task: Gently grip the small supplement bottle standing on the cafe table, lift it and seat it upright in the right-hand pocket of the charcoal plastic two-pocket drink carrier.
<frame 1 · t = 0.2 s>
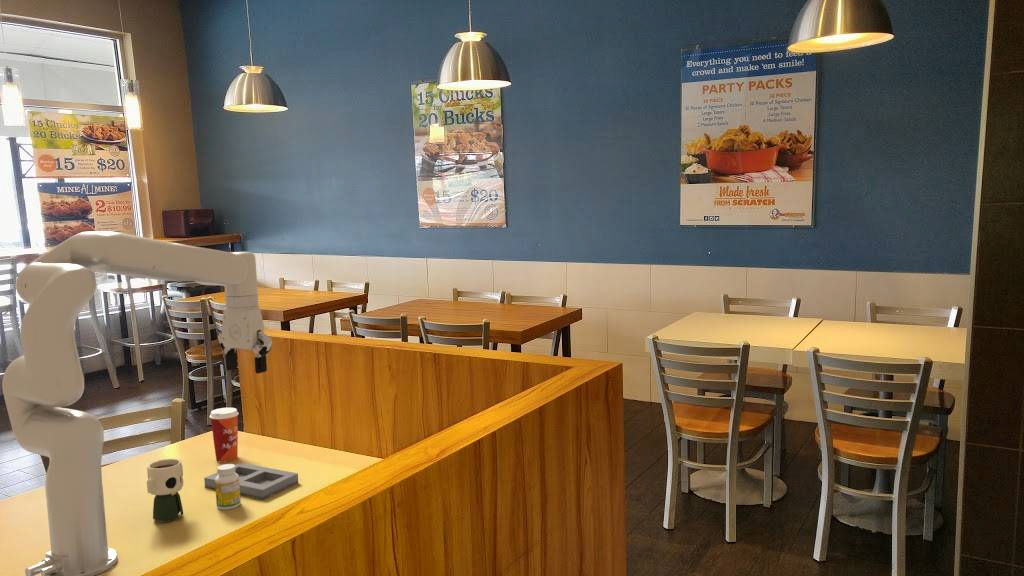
hand: (246, 370, 180), 30 cm above the table, tool pointing down, fingers open, 9 cm apart
supplement bottle: (228, 506, 172), on the table
character mug: (168, 519, 166), on the table
paper cup: (227, 459, 206), on the table
drink carrier: (251, 485, 185), on the table
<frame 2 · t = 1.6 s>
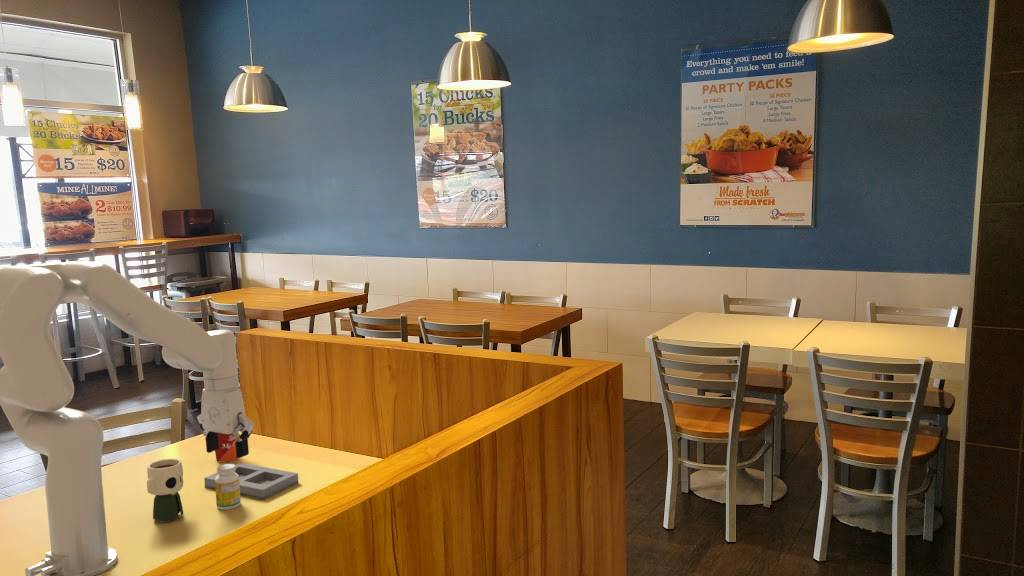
hand: (227, 453, 171), 13 cm above the table, tool pointing down, fingers open, 9 cm apart
nothing on the table moved.
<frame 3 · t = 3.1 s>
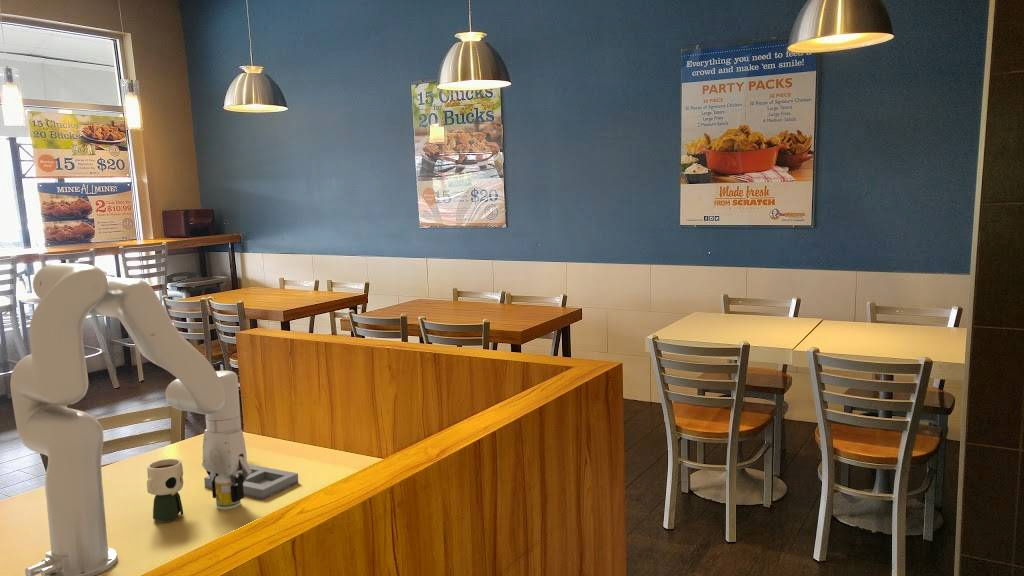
hand: (228, 497, 172), 2 cm above the table, tool pointing down, fingers closed on supplement bottle, 5 cm apart
supplement bottle: (228, 506, 172), on the table, touching gripper
everything else where it was.
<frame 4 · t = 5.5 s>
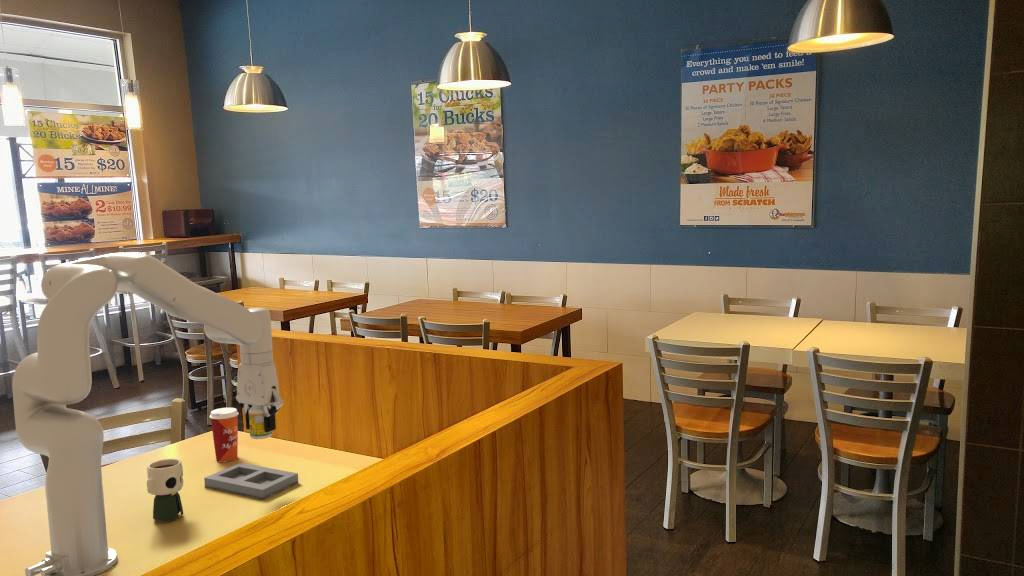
hand: (261, 428, 181), 15 cm above the table, tool pointing down, fingers closed on supplement bottle, 5 cm apart
supplement bottle: (261, 437, 182), point 13 cm above the table, touching gripper
everything else where it was.
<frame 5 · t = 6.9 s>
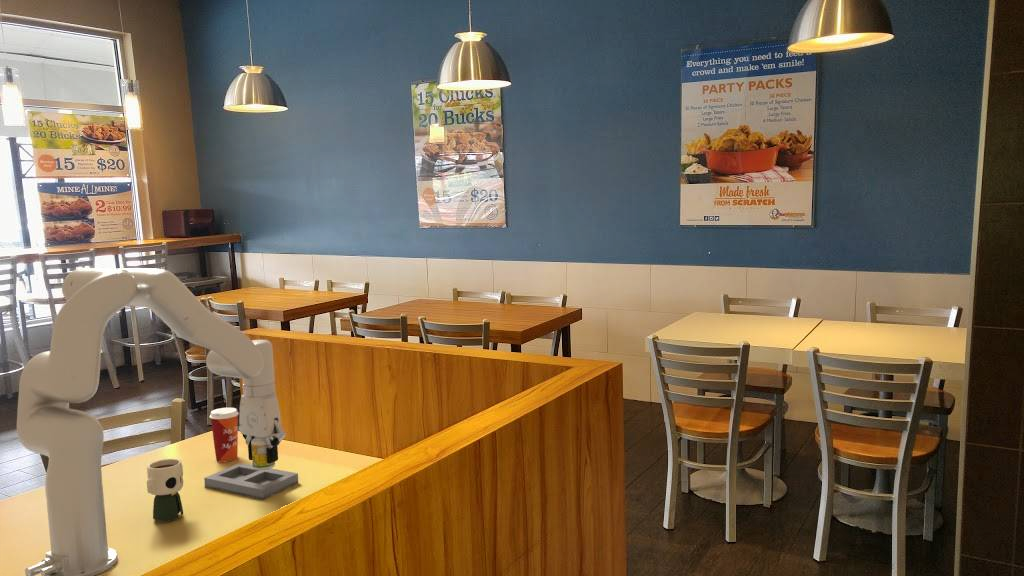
hand: (263, 459, 182), 7 cm above the table, tool pointing down, fingers closed on supplement bottle, 5 cm apart
supplement bottle: (264, 467, 183), point 5 cm above the table, touching gripper
everything else where it was.
when the fingers open (4 cm above the table, at t = 8.0 s): supplement bottle stays where it is, resting on drink carrier.
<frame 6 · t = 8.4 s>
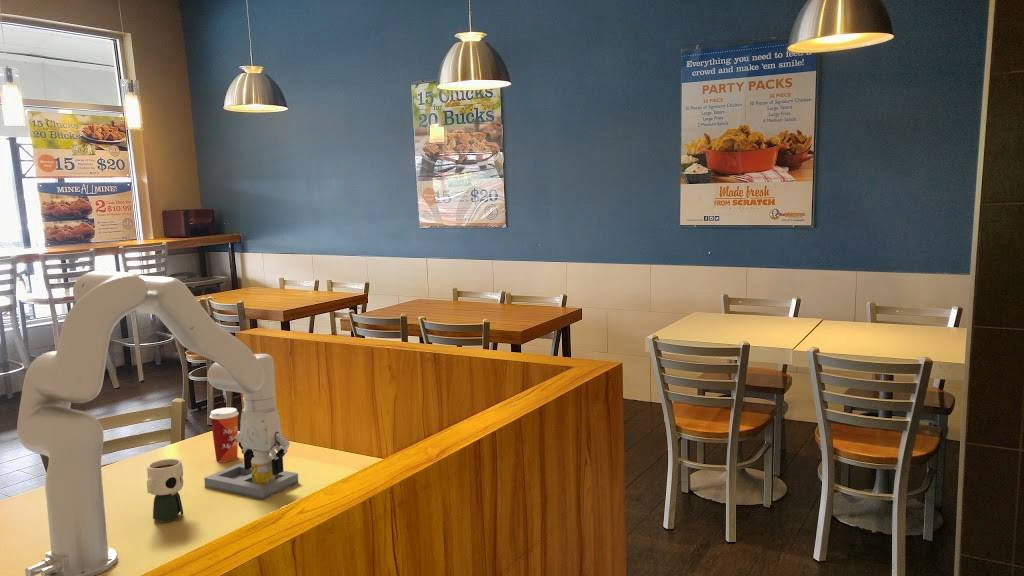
hand: (263, 470, 183), 4 cm above the table, tool pointing down, fingers open, 9 cm apart
supplement bottle: (263, 486, 183), resting on drink carrier
everything else where it was.
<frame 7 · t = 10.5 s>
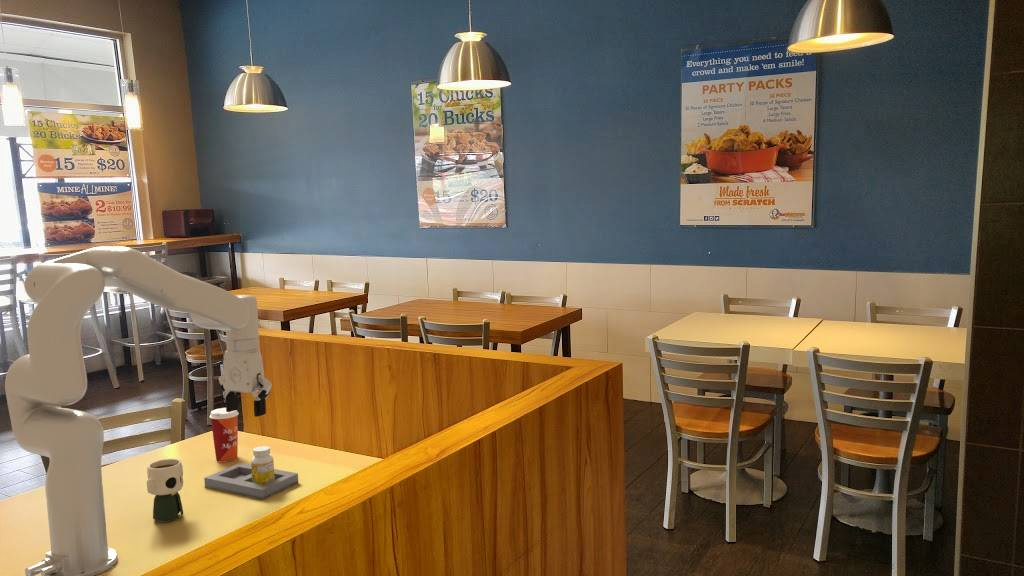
hand: (246, 413, 181), 20 cm above the table, tool pointing down, fingers open, 9 cm apart
nothing on the table moved.
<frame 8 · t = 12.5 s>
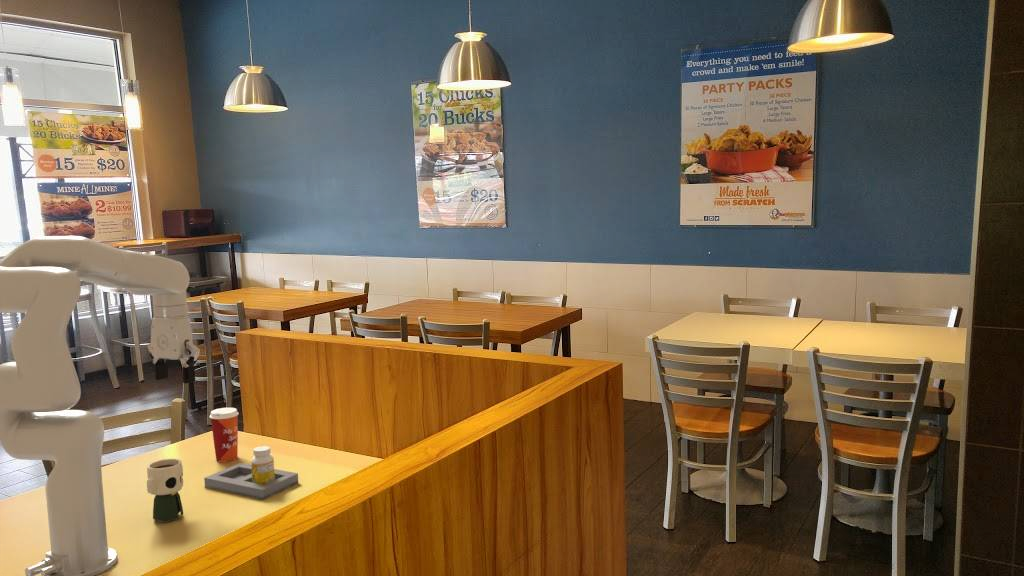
hand: (175, 380, 179), 28 cm above the table, tool pointing down, fingers open, 9 cm apart
nothing on the table moved.
at the end: supplement bottle 0.2 cm from the target spot on the drink carrier, point 0.4 cm above the drink carrier's base; supplement bottle tilted 0°; the gripper is holding nothing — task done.
